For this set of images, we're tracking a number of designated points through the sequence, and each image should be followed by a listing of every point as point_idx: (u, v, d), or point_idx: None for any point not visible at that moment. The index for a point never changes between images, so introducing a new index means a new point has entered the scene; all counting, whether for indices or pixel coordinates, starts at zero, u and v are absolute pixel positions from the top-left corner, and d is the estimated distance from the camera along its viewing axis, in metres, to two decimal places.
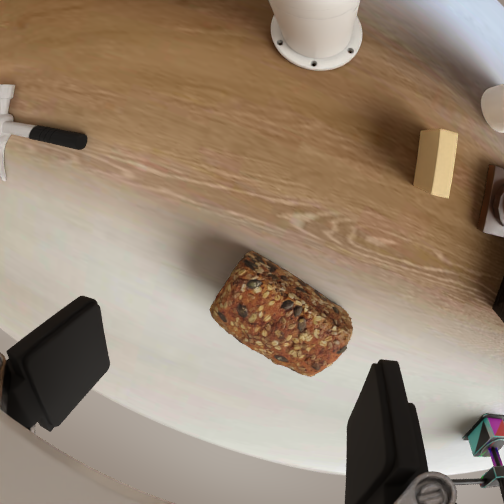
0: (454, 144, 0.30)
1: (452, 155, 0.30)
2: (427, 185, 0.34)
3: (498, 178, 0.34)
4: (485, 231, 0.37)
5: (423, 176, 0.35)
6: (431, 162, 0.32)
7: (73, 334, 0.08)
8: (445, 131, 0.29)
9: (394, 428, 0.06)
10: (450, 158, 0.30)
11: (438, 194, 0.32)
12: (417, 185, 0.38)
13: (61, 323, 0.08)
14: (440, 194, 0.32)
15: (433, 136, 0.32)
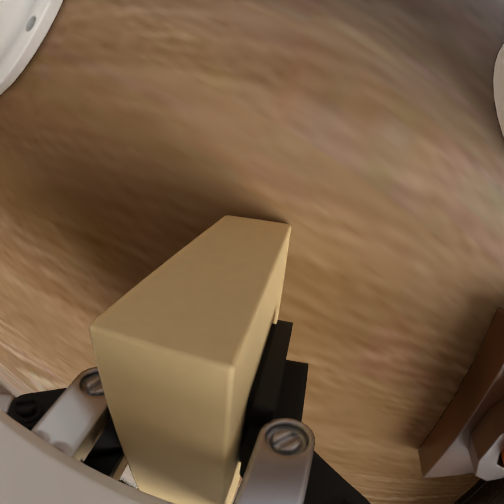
0: (208, 424, 0.05)
1: (204, 462, 0.05)
2: None
3: None
4: (430, 476, 0.12)
5: None
6: None
7: None
8: (123, 348, 0.04)
9: (263, 373, 0.07)
10: (195, 470, 0.05)
11: None
12: None
13: None
14: None
15: None
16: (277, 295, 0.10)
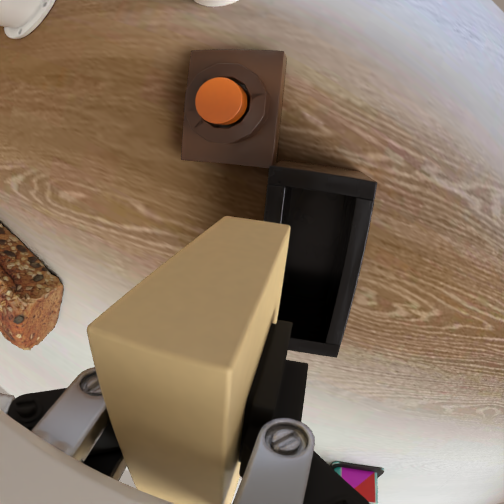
0: (206, 426, 0.05)
1: (202, 464, 0.05)
2: None
3: (198, 67, 0.23)
4: (185, 157, 0.26)
5: None
6: None
7: None
8: (120, 351, 0.04)
9: (263, 373, 0.07)
10: (194, 471, 0.05)
11: None
12: None
13: None
14: None
15: None
16: (276, 296, 0.10)
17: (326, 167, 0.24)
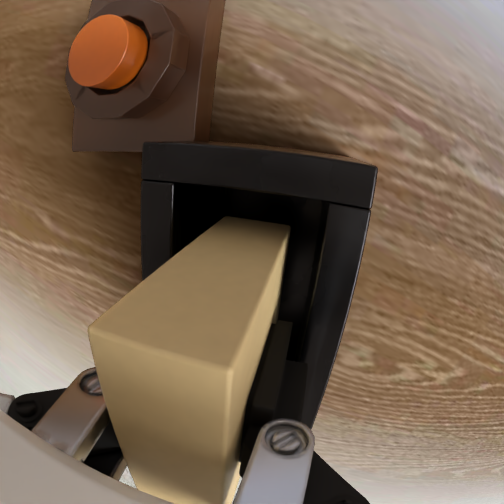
0: (207, 427, 0.05)
1: (203, 464, 0.05)
2: None
3: None
4: (77, 148, 0.16)
5: None
6: None
7: None
8: (121, 351, 0.04)
9: (262, 373, 0.07)
10: (194, 471, 0.05)
11: None
12: None
13: None
14: None
15: None
16: (277, 296, 0.10)
17: (285, 148, 0.13)
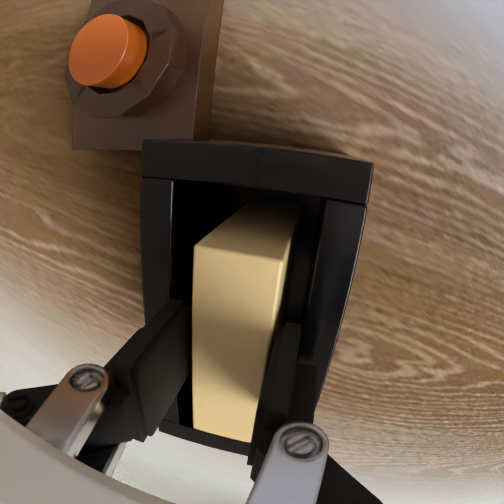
0: (263, 306, 0.09)
1: (255, 344, 0.09)
2: None
3: None
4: (76, 146, 0.16)
5: None
6: None
7: (172, 339, 0.09)
8: (217, 257, 0.09)
9: (274, 376, 0.07)
10: (247, 354, 0.10)
11: (216, 432, 0.11)
12: None
13: (160, 328, 0.09)
14: (222, 433, 0.11)
15: None
16: (293, 252, 0.14)
17: None
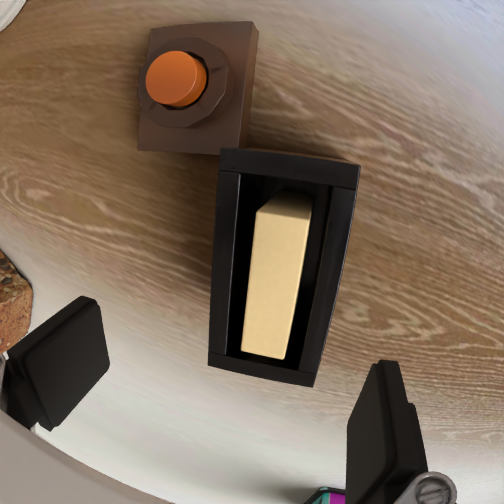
0: (297, 248, 0.15)
1: (291, 274, 0.15)
2: None
3: (157, 46, 0.19)
4: (142, 147, 0.22)
5: None
6: None
7: (73, 334, 0.08)
8: (270, 218, 0.15)
9: (394, 428, 0.06)
10: (285, 282, 0.16)
11: (258, 352, 0.17)
12: None
13: (61, 323, 0.08)
14: (262, 352, 0.17)
15: None
16: None
17: None
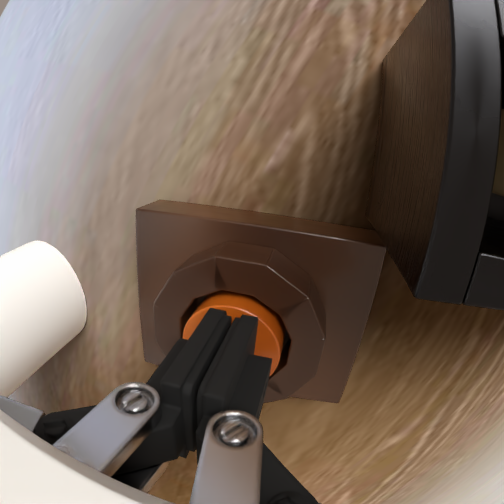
0: None
1: None
2: None
3: None
4: (337, 397, 0.13)
5: None
6: None
7: (216, 350, 0.09)
8: None
9: (219, 365, 0.08)
10: None
11: None
12: None
13: (205, 340, 0.09)
14: None
15: None
16: None
17: (388, 124, 0.10)
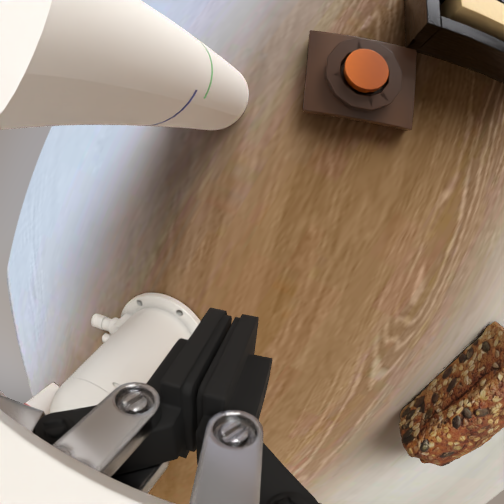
0: None
1: (489, 0, 0.13)
2: None
3: (322, 102, 0.25)
4: (410, 124, 0.24)
5: None
6: (496, 31, 0.15)
7: (216, 350, 0.09)
8: (463, 0, 0.14)
9: (218, 365, 0.08)
10: (493, 3, 0.13)
11: None
12: None
13: (205, 340, 0.09)
14: None
15: (463, 18, 0.16)
16: None
17: (409, 10, 0.20)
